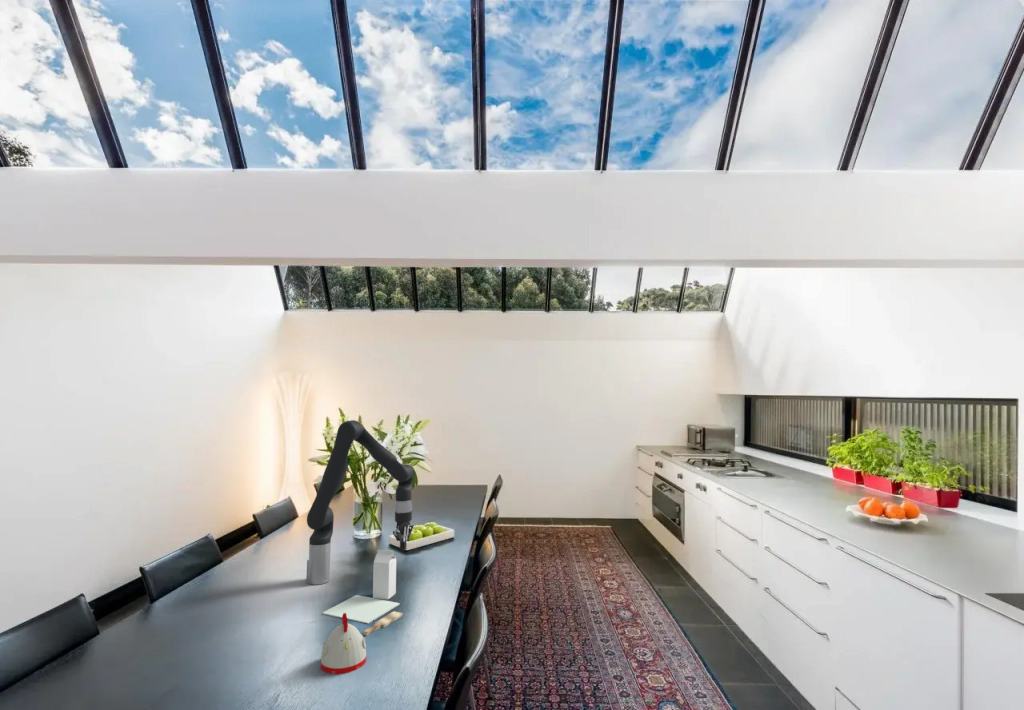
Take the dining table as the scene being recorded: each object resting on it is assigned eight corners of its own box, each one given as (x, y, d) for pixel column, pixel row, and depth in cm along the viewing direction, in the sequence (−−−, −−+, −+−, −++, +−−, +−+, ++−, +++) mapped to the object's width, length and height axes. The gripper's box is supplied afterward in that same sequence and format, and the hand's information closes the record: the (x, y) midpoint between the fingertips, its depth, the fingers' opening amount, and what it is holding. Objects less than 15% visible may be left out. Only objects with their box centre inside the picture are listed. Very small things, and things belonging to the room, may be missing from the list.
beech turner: (370, 636, 188) (370, 632, 188) (360, 634, 189) (360, 630, 189) (403, 615, 206) (403, 612, 206) (393, 613, 208) (393, 610, 208)
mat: (322, 613, 207) (322, 612, 207) (356, 595, 225) (356, 594, 225) (368, 623, 198) (368, 622, 198) (399, 604, 216) (399, 603, 216)
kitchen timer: (322, 677, 161) (323, 626, 162) (319, 656, 173) (320, 609, 174) (369, 668, 166) (370, 618, 167) (363, 648, 179) (364, 602, 180)
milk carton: (388, 600, 220) (389, 553, 222) (372, 598, 222) (373, 552, 223) (395, 594, 227) (396, 548, 229) (380, 592, 229) (381, 547, 230)
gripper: (404, 506, 246) (404, 544, 245) (387, 512, 234) (387, 552, 233) (418, 507, 243) (418, 546, 242) (401, 514, 231) (401, 554, 230)
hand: (403, 549), depth 238 cm, fingers closed
